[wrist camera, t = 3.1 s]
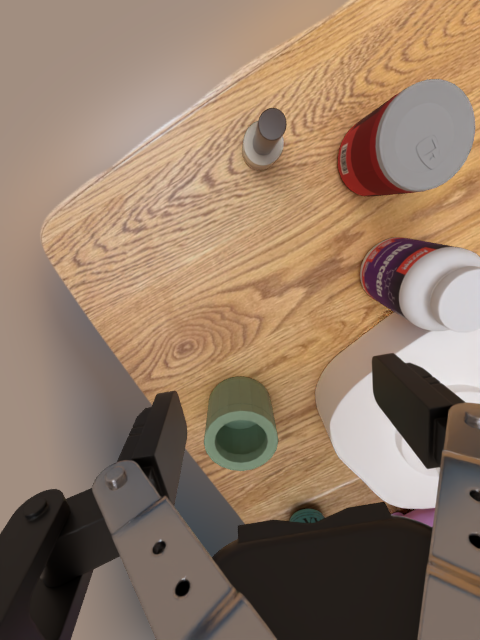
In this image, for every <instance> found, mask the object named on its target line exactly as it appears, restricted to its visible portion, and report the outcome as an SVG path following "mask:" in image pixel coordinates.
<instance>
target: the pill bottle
mask: <svg viewBox="0 0 480 640" xmlns="http://www.w3.org/2000/svg"><path fill="white" fill-rule="evenodd" d="M360 280H361V284H362V286H363V288H364V290H365V291H366V293H367V294H368V295H369V296H371V297H372V298H373V299H375V300H376V301H378V302H380V303H381V304H383V305H384V306H386V307H388V308H389V309H391V310H392V311H394V312H395V313H397V314H398V315H400V316H402V317H403V318H405V319H406V320H408V321H409V322H411V323H412V324H414V325H415V326H417V327H419V328H422V329H425V330H430V331H445V330H452V331H455V332H472V331H475V330H478V329H480V257H479V256H478V255H477V254H476V253H474V252H472V251H470V250H467V249H463V248H459V247H453V246H448V245H442V244H436V243H431V242H425V241H419V240H414V239H409V238H401V237H395V238H390V239H386V240H384V241H382V242H380V243H378V244H377V245H375V246H374V247H373V248H372V249H371V250H370V251H369V252H368V253H367V255H366V256H365V258H364V260H363V262H362V265H361V270H360Z"/></svg>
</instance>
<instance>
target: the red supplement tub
mask: <svg viewBox="0 0 480 640" xmlns="http://www.w3.org/2000/svg"><path fill="white" fill-rule="evenodd" d="M474 134H475V117H474V112H473V108H472V106H471V103H470V101H469V99H468V98H467V96H466V95H465V93H464V92H463V91H462V90H461V89H460V88H459V87H457V86H456V85H455V84H453V83H450V82H448V81H445V80H440V79H430V80H425V81H421V82H418V83H416V84H413V85H411V86H410V87H408V88H406V89H404V90H403V91H401V92H400V93H398V94H397V95H395V96H394V97H392V98H391V99H390V100H388V101H387V102H385V103H384V104H383V105H381V106H380V107H379V108H377V109H376V110H374V111H373V112H372V113H370V114H369V115H367V116H366V117H365V118H363V119H362V120H361V121H359V122H358V123H356V124H355V125H354V126H353V127H352V128H351V129H350V130H349V131H348V132H347V134H346V135H345V137H344V139H343V141H342V143H341V146H340V149H339V154H338V169H339V173H340V176H341V178H342V180H343V182H344V183H345V185H346V186H347V187H348V188H349V189H350V190H352V191H353V192H354V193H356V194H359V195H361V196H367V197H370V196H382V195H393V194H403V193H414V192H421V191H426V190H429V189H433V188H436V187H438V186H440V185H442V184H444V183H445V182H447V181H448V180H449V179H451V178H452V177H453V176H454V175H455V174H456V173H457V172H458V171H459V170H460V168H461V167H462V165H463V164H464V162H465V161H466V159H467V157H468V155H469V153H470V151H471V147H472V144H473V141H474Z"/></svg>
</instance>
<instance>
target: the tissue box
mask: <svg viewBox="0 0 480 640" xmlns="http://www.w3.org/2000/svg"><path fill="white" fill-rule="evenodd" d="M388 353H394V354H395V355H397V356H398V357H399V358H400V359H401V360H402V361H404V362H405V363H412V364H415V365H417V366H420V367H422V368H424V369H425V370H426V371H427V372H429V373H430V374H431V375H432V377H435V378H436V379H437V380H439V381H440V383H442V384H444V385H445V386H446V387H447V388H448V389H450V390H451V391H452V392H453V393H455V394H456V395H457V396H458V397H460V398H461V399H462V400H463V401H465V402H466V403H477V404H480V329H478V330H475V331H472V332H455V331H452V330H445V331H430V330H425V329H422V328H419V327H417V326H415V325H414V324H412V323H411V322H409V321H408V320H406V319H405V318H403V317H402V316H400V315H398V314H397V313H395V312H393V313H392V314H390V315H389V316H388V317H386V318H385V319H383V320H382V321H381V322H379V323H378V324H377V325H376V326H374V327H373V328H372V329H370V330H369V331H368V332H366V333H365V334H364V335H363V336H361V337H360V338H359V339H357V340H356V341H355V342H353V343H352V344H351V345H349V346H348V347H347V348H346V349H344V350H343V351H342V352H340V353H339V354H338V355H337V356H336V357H335V358H334V359H333V360H332V361H331V362H330V363H329V364H328V365H327V367H326V368H325V369H324V371H323V373H322V374H321V376H320V378H319V381H318V383H317V386H316V390H315V400H316V406H317V410H318V412H319V415H320V417H321V419H322V422H323V424H324V426H325V429H326V431H327V433H328V436H329V438H330V440H331V443H332V445H333V447H334V449H335V452H336V453H337V455H338V456H339V458H340V459H341V460H342V461H343V462H344V464H346V465H347V466H348V467H349V468H350V469H351V470H352V471H353V472H354V473H355V474H356V475H357V476H358V477H359V478H361V479H362V480H363V481H364V482H365V483H366V484H367V486H368V487H369V488H370V489H371V490H372V491H373V492H374V493H375V494H376V495H378V496H379V497H380V498H381V499H382V500H384V501H385V502H387V503H389V504H391V505H393V506H396V507H400V508H407V509H429V508H435V505H436V497H437V489H438V481H439V474H440V467H438V468H432V469H427V468H426V467H425V466H424V464H423V463H422V462H421V461H420V459H419V458H418V457H417V455H416V454H415V453H414V451H413V450H412V449H411V448H410V446H409V445H408V444H407V442H406V441H405V440H404V438H403V437H402V436H401V434H400V433H399V432H398V431H397V429H396V428H395V427H394V425H393V424H392V423H391V421H390V420H389V419H388V418H387V416H386V415H385V414H384V412H383V411H382V410H381V408H380V407H379V406H378V404H377V402H376V400H375V398H374V394H373V383H372V358H373V356H377V355H383V354H388Z"/></svg>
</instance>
